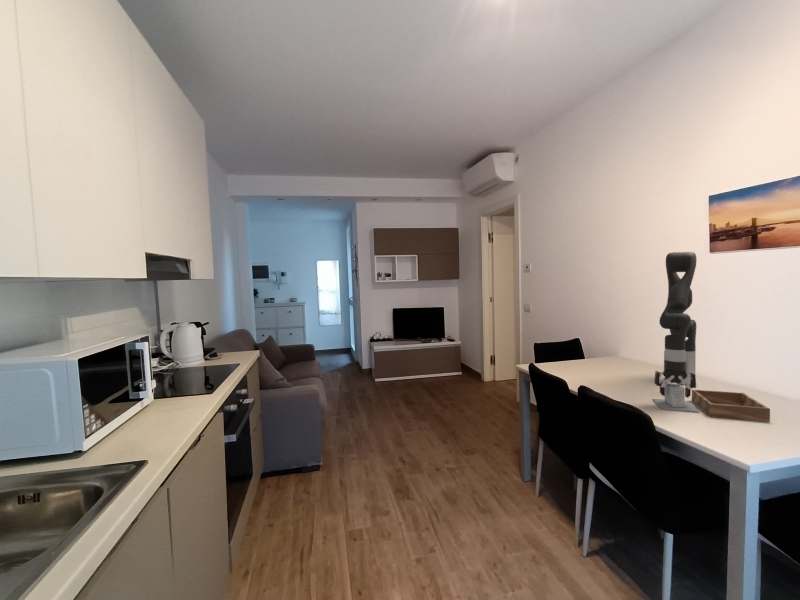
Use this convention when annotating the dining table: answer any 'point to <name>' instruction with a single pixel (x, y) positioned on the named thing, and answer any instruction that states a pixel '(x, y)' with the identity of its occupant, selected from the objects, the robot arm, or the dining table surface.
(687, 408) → the slate mat
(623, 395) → the dining table surface
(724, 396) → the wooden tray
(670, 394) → the medicine box
